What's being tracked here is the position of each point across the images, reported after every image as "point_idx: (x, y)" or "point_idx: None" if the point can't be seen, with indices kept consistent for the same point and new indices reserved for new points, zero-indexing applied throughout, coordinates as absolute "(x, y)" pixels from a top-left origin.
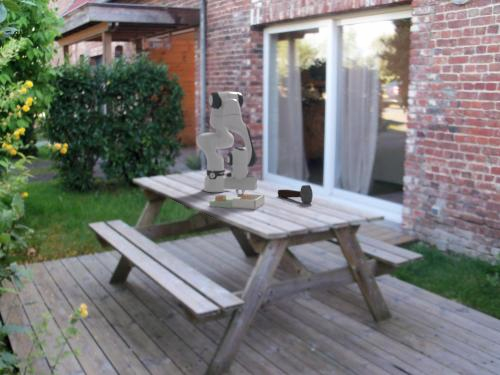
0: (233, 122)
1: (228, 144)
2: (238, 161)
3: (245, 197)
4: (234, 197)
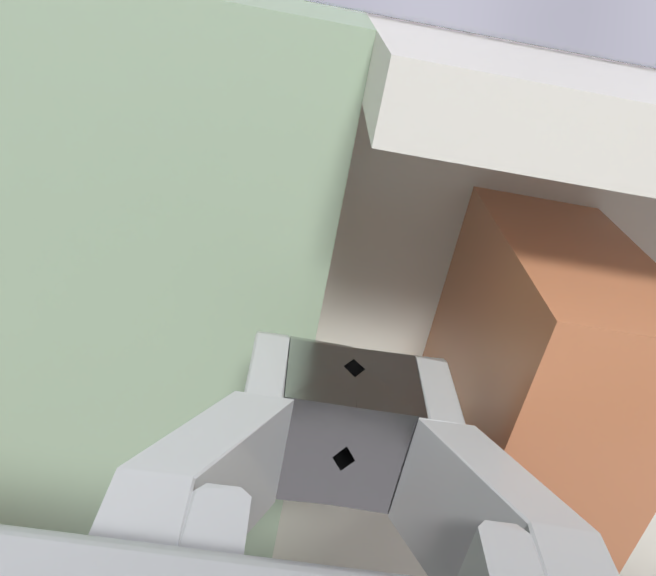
0: None
1: None
2: None
3: None
4: (72, 133)
